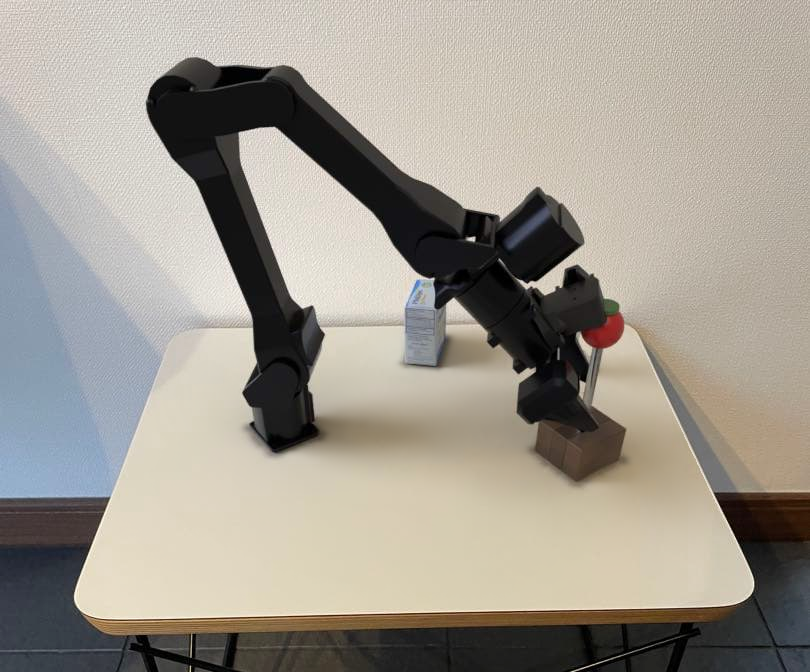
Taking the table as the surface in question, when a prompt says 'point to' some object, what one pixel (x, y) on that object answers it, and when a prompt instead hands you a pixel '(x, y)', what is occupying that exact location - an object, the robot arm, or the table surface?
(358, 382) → the table surface
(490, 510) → the table surface
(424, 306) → the medicine box
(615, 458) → the stand
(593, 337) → the lever
